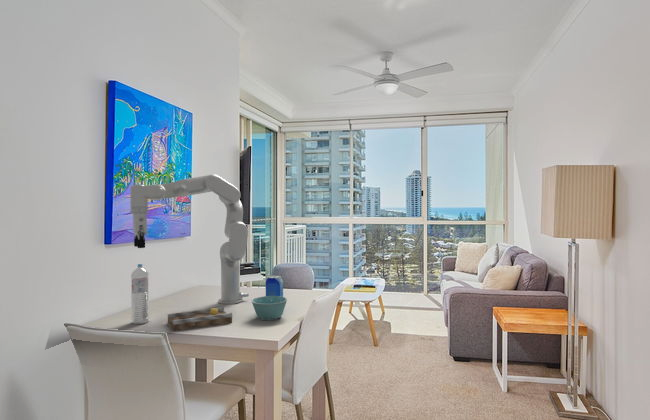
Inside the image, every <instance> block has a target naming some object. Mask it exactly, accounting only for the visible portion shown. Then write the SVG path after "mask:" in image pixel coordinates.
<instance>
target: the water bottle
mask: <svg viewBox="0 0 650 420" xmlns="http://www.w3.org/2000/svg"><path fill="white" fill-rule="evenodd" d="M130 277H131V278H130V279H131V293H130V294H131V297H130V298H131V302H130V303H131V304H130V305H131V306H130V309H131V311H130V312H131V317H130V318H131V319H130V320H131V324H133V325H144V324H148V322H149V318H150V317H149V316H150V313H149V311H150V310H149V308H150V306H149V304H150V303H149V299H150V298H149V295H150V294H149V277H150V275H149V273H148V271H147V270H146V269H145V268H143V264H141V263H140V264H137V268H136V269H135V270H133V271H132V272H131V275H130Z"/></svg>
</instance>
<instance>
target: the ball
mask: <svg viewBox="0 0 650 420" xmlns="http://www.w3.org/2000/svg"><path fill="white" fill-rule="evenodd" d="M216 308H217V307H212V308H210V309H211V310H210V313H211V315H216V314H217V313H218V310H217V309H216Z"/></svg>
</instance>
